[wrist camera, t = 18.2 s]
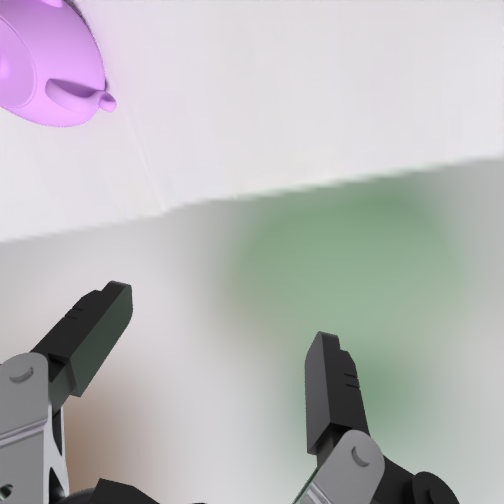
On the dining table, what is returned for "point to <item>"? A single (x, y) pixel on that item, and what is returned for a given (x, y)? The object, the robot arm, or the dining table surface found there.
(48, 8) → the teapot
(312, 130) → the dining table surface
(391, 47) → the dining table surface
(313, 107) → the dining table surface
